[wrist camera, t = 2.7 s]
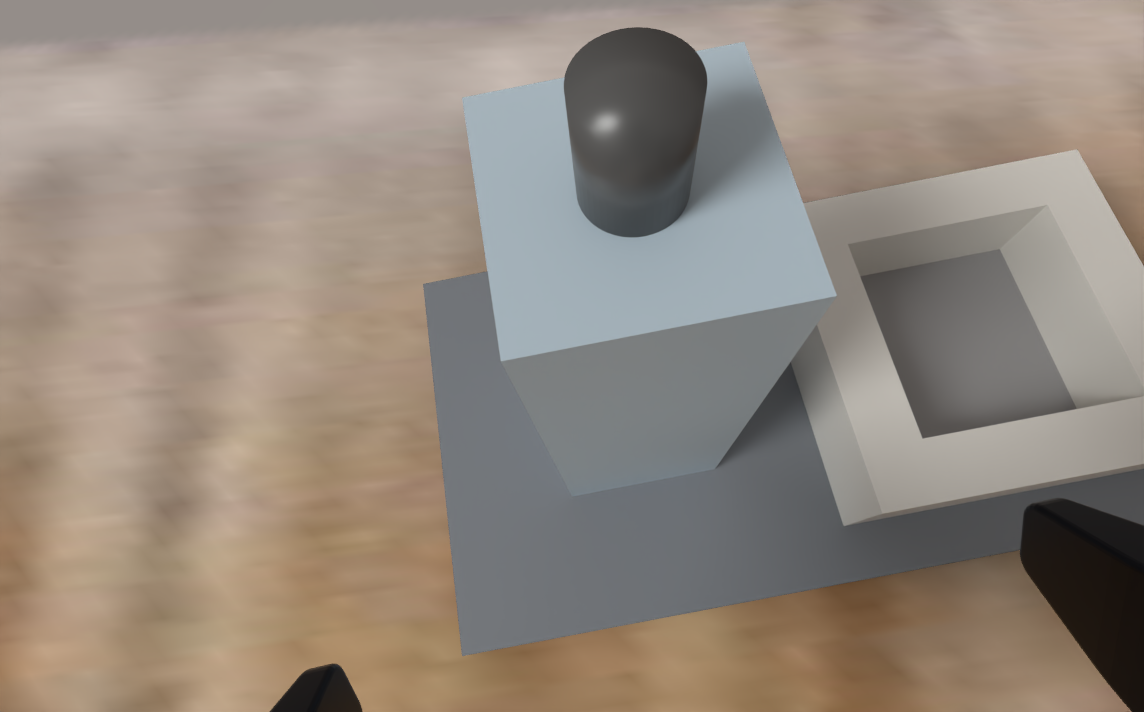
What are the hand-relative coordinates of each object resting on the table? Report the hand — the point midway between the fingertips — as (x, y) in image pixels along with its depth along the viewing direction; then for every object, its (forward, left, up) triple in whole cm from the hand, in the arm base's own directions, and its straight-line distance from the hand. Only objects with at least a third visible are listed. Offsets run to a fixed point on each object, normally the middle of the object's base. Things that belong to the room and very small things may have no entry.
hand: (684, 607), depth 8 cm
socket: (-3, -11, -11) cm, 16 cm away
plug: (+4, -4, -11) cm, 12 cm away
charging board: (0, -8, -12) cm, 14 cm away
